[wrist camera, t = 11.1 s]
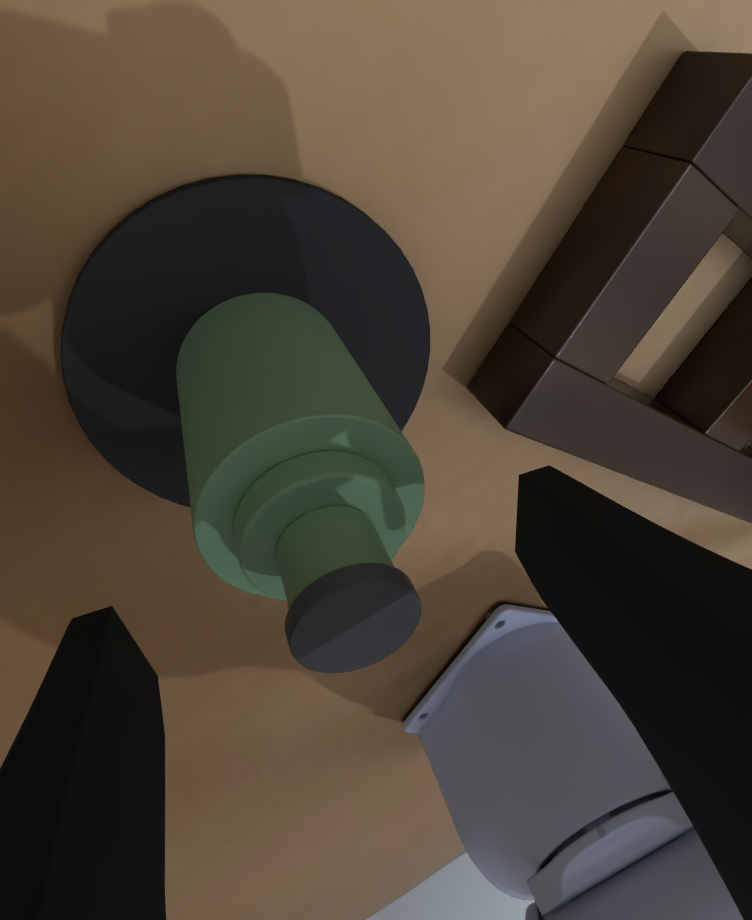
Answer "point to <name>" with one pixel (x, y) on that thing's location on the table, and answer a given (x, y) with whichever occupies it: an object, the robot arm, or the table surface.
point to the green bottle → (299, 478)
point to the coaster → (215, 281)
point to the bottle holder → (646, 302)
